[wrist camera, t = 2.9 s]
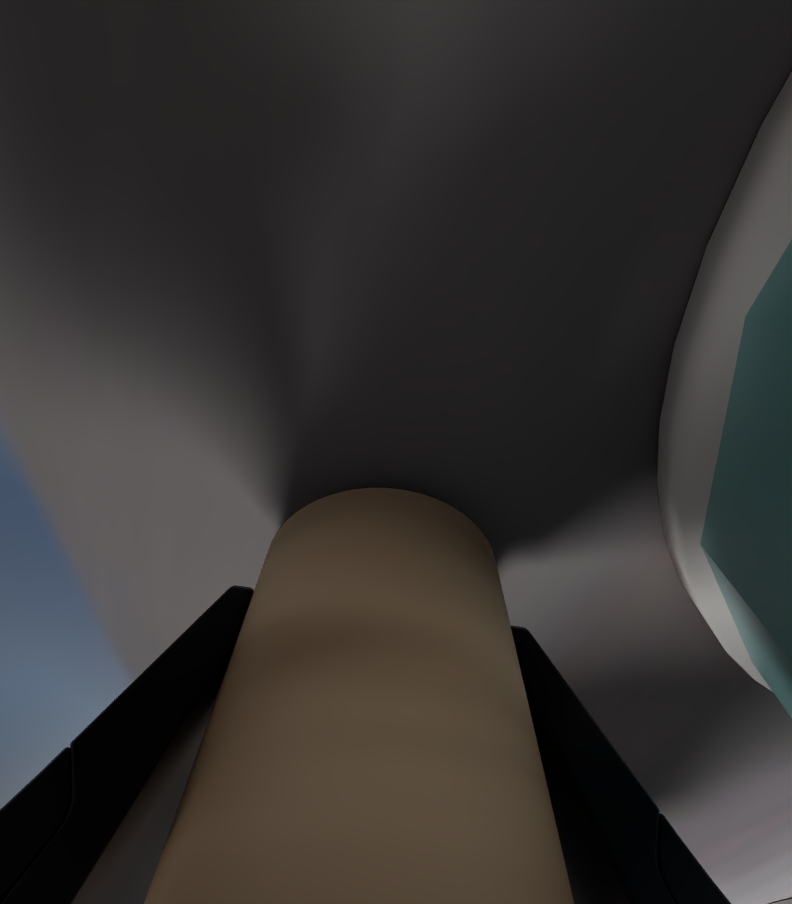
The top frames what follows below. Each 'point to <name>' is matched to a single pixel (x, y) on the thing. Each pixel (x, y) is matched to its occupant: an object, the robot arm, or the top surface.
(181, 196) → the top surface
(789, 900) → the cylindrical container
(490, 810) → the wood cylinder
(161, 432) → the top surface
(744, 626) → the groove tray
